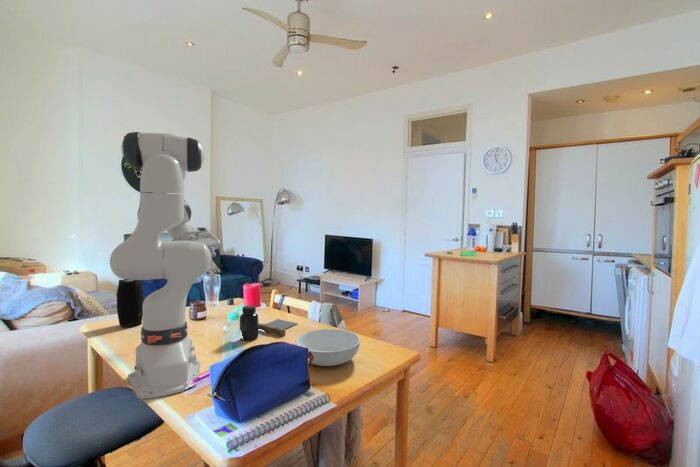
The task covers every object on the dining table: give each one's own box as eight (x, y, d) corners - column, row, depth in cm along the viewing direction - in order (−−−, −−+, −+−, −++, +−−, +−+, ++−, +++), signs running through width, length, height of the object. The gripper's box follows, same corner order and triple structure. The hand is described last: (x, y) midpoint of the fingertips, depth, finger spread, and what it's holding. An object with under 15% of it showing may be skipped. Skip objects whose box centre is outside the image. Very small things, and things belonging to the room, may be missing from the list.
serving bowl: (320, 343, 126) (320, 324, 125) (370, 355, 115) (371, 335, 115) (281, 364, 108) (281, 342, 108) (337, 381, 97) (337, 357, 97)
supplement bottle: (260, 339, 129) (260, 307, 128) (242, 342, 125) (242, 310, 125) (254, 333, 135) (254, 303, 134) (237, 337, 131) (237, 306, 130)
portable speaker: (147, 324, 144) (146, 278, 143) (122, 330, 137) (121, 281, 136) (138, 320, 149) (137, 276, 148) (113, 325, 142) (112, 279, 141)
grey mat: (297, 324, 147) (297, 323, 147) (280, 331, 137) (280, 330, 137) (278, 320, 152) (278, 319, 152) (260, 327, 143) (260, 325, 143)
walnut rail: (285, 335, 133) (285, 329, 133) (282, 336, 132) (282, 330, 132) (248, 326, 143) (248, 320, 143) (245, 327, 142) (245, 321, 141)
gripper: (160, 237, 130) (176, 260, 125) (210, 226, 145) (227, 246, 140) (159, 249, 134) (175, 272, 128) (208, 238, 149) (225, 258, 143)
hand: (203, 259), depth 134 cm, fingers open, 8 cm apart
